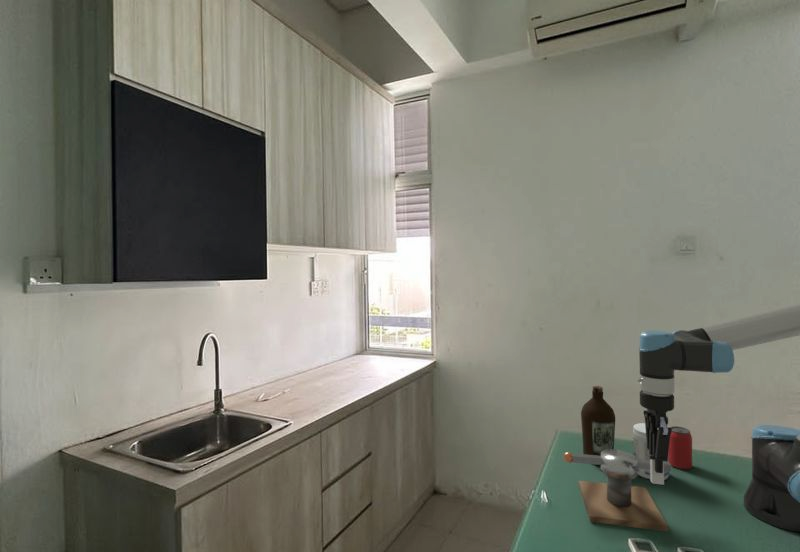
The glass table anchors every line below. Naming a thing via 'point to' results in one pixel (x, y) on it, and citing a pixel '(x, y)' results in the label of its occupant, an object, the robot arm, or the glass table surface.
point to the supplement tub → (642, 449)
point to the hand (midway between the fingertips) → (657, 482)
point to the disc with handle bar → (614, 463)
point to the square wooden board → (621, 504)
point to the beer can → (680, 448)
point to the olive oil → (597, 424)
